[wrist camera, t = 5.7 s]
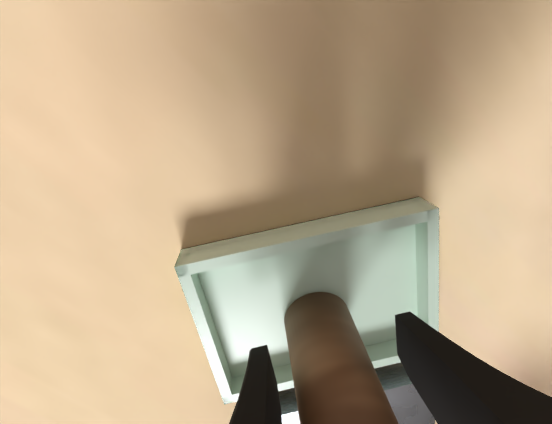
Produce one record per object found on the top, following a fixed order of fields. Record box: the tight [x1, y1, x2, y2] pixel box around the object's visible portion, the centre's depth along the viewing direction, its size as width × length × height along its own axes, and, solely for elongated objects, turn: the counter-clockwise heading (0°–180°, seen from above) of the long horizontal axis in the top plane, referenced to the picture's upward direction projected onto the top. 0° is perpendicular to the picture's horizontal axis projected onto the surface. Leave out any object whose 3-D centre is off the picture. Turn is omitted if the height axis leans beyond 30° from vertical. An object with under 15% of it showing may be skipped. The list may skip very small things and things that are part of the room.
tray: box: [175, 197, 439, 404], centre depth 15 cm, size 11×8×2 cm
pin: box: [284, 292, 398, 424], centre depth 11 cm, size 4×4×9 cm
